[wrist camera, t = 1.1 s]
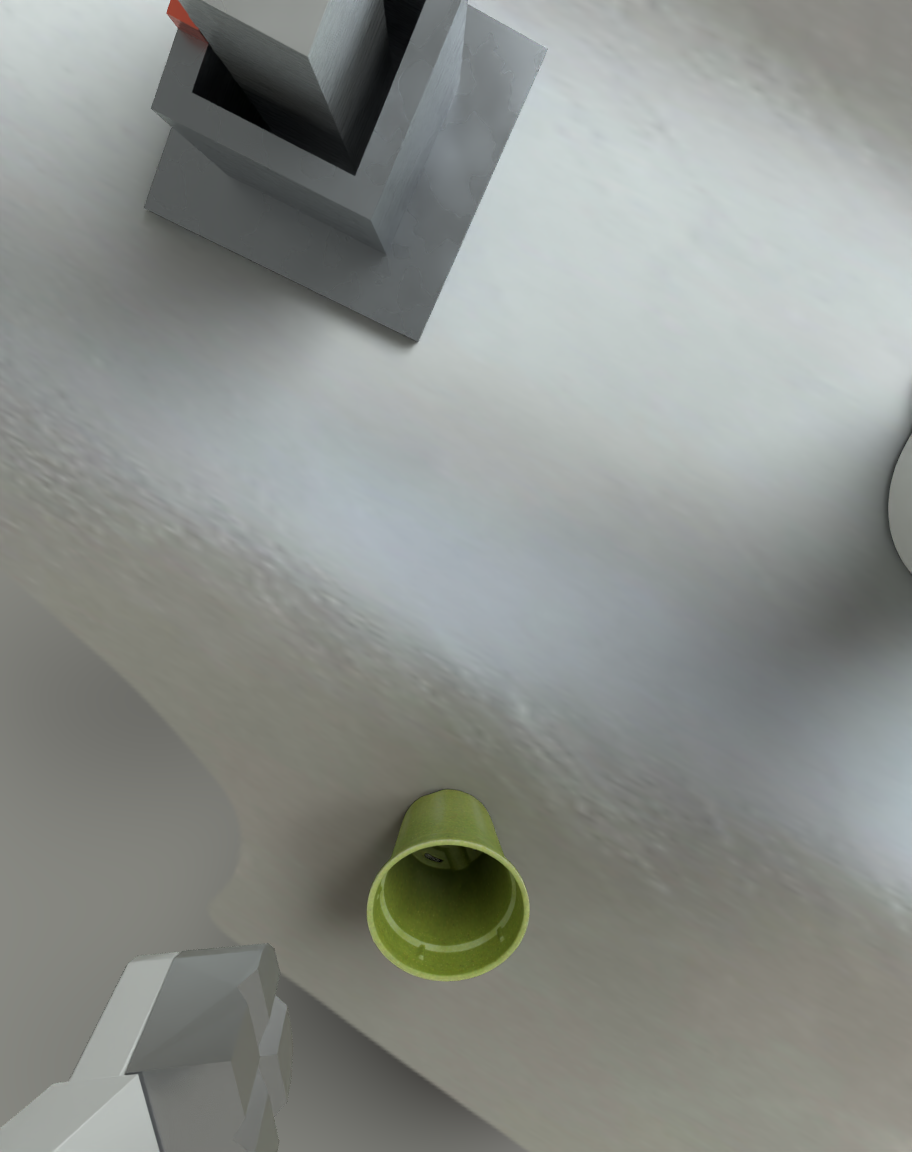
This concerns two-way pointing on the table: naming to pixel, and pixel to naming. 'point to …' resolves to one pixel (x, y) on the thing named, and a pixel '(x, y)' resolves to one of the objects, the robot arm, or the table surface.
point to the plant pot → (447, 893)
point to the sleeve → (385, 175)
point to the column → (306, 67)
